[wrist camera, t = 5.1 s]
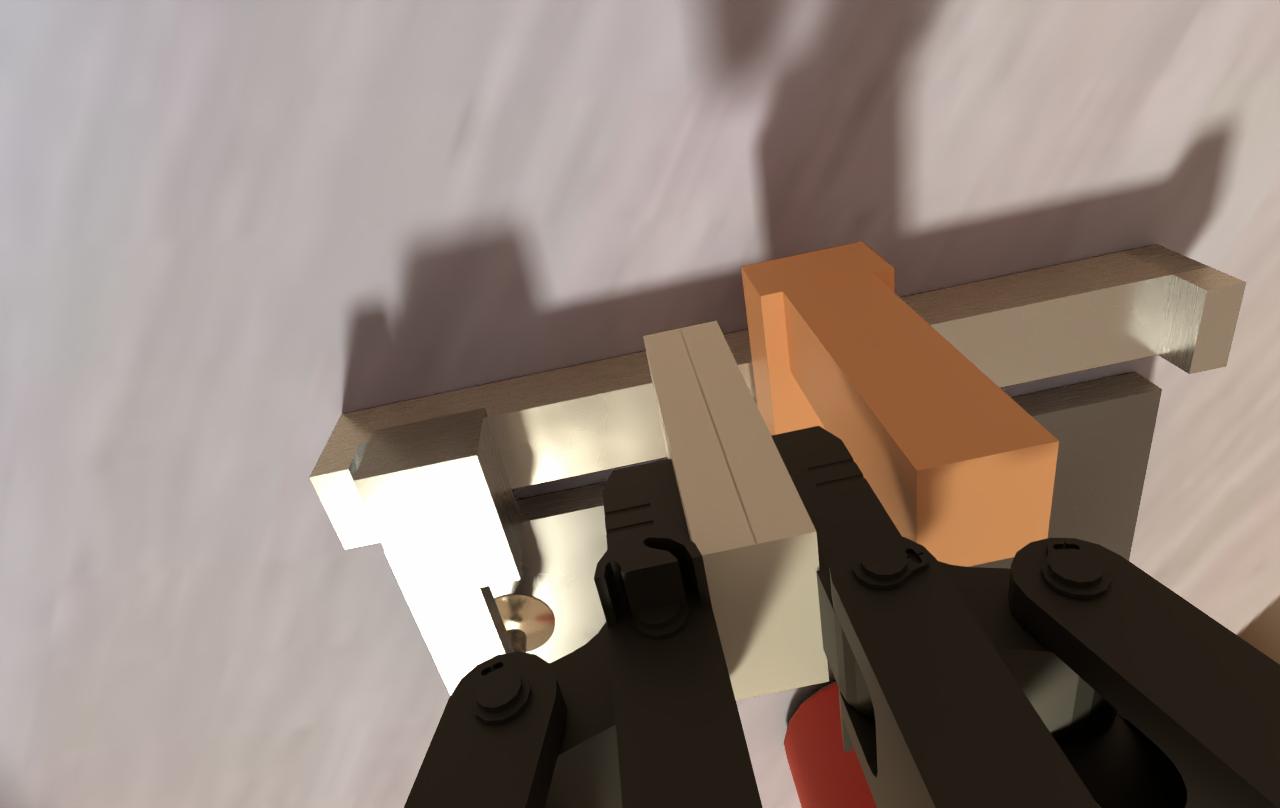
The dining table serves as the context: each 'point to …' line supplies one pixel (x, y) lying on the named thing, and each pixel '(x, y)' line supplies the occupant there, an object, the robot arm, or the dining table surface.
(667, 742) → the robot arm
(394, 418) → the beam
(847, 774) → the beer can
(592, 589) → the hole plate
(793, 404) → the block
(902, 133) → the dining table surface
